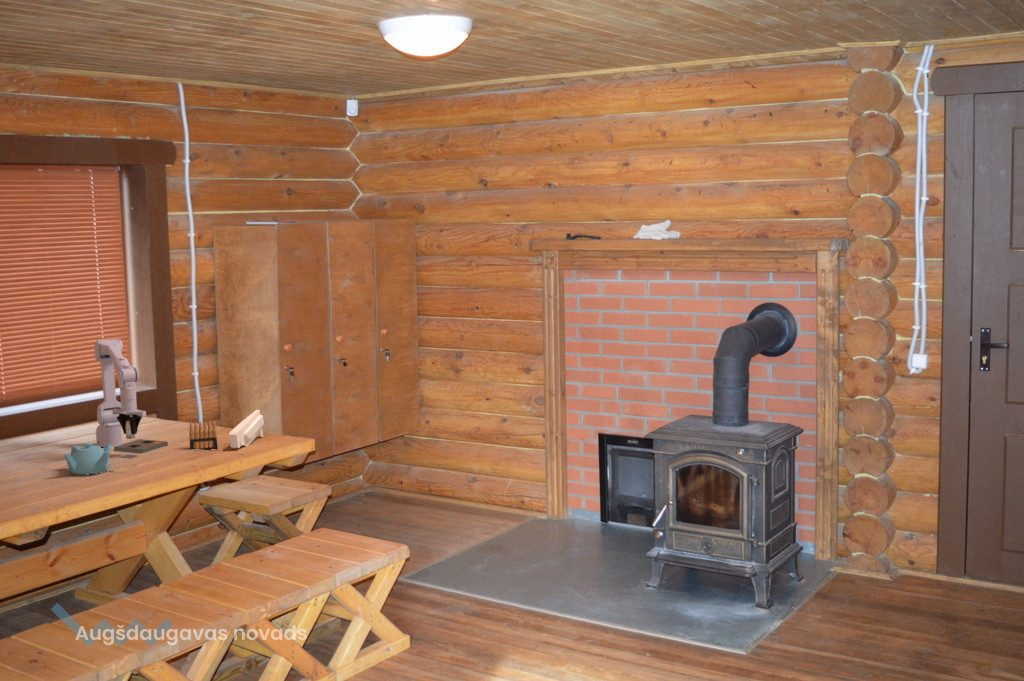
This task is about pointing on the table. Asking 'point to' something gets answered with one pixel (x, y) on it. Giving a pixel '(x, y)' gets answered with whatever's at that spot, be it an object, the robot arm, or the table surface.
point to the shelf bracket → (247, 430)
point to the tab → (129, 456)
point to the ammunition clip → (203, 436)
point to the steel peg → (128, 430)
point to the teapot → (88, 459)
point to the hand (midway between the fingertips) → (130, 433)
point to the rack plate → (141, 446)
